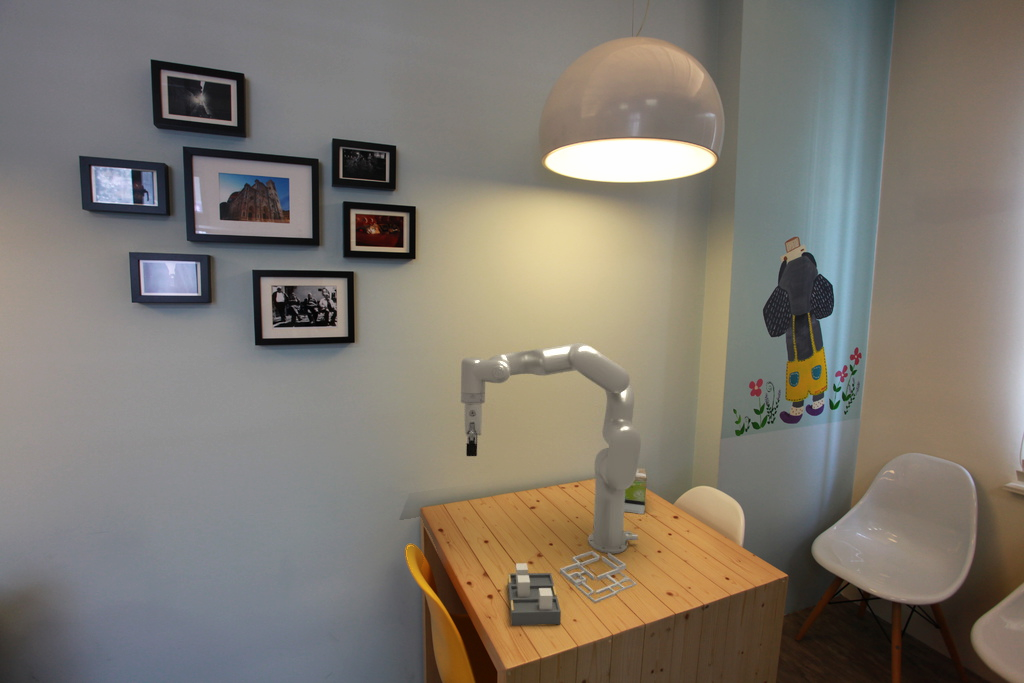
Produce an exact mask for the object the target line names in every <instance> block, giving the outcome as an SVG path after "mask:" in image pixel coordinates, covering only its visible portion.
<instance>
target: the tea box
mask: <svg viewBox="0 0 1024 683" xmlns="http://www.w3.org/2000/svg"><path fill="white" fill-rule="evenodd" d="M647 482H648V481H647V473H646V468H641V467H637V472H636V477H635V480H634V482H633V483H632V485H631V486H630V487H629V488H627V489H625V502H624V513H625V512H626V513H632V514H639V515H644V514H645V508H646V495H647V494H646V493H647Z"/></svg>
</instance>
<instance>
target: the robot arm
mask: <svg viewBox="0 0 1024 683" xmlns="http://www.w3.org/2000/svg"><path fill="white" fill-rule="evenodd" d="M460 367H461V370H460V371H461V376H460V377H461V378H460V385H461V386H460V403H462V404H463V405H464V431H465V432H464V433H465V436H467V442H466V449H465V450H466V452H465V454H466V457H477V456H478V436H480V437H481V435H482V421H483V420H482V419H483V418H482V416H483V415H482V413H483V411H482V410H483V408H482V407H483V406H482V404H484V403H486V383H493V384H502V383H505V382H506V381H508V380H509V378H510V377H511V376H517V375H535V376H543V377H544V376H550V375H557V374H561V373H567V372H568V373H569V372H574V371H576V372H578V373H579V374H581V375H582V376H583V377H585V378H587V379H588V380H589V381H591V382H592V383H594V384H596V385H597V386H598V387H600V388H602V389H603V390H604V391H605V395H606V407H605V408H606V409H605V414H604V419H603V420H604V421H603V426H602V431H601V432H602V434H601V435H602V438H603V440H604V441H605V443H606V444H607V445H608V447H605V448H602V449H601V450H599V451H598V453H597V454H596V455H595V459H594V478H595V479H594V481H595V482H594V483H595V487H594V504H593V505H594V508H593V529H592V530H593V532H591V534H589V536H588V537H587V542H588V545H589V546H590V547H591V548H592V549H594V550H596V551H598V552H601V553H603V554H608V552H609V553H610V554H611V555H613V554H619V553H622V552H624V551H626V550H627V548H628V542H629V541H638V540H639V538H638V534H637V533H632V531H631V530H626V531H625V530H624V521H625V520H624V519H625V515H624V514H625V511H624V502H625V489H627V488H629V487H630V486H631V485H632V483H633V482H634V480H635V477H636V472H637V468H638V466H639V461H640V460H639V459H640V453H641V445H642V440H641V436H640V433H639V431H638V430H637V428H635V426H633V416H634V415H633V414H634V408H635V396H634V395H635V394H634V388H633V386H632V383H631V382H630V381H631V380H630V375H629V373H628V371H627V370H626V369H625V368H624V367H622V366H621V365H620V364H618V363H616V362H615V361H613V360H611V359H610V358H608V357H607V356H606V355H604V354H603V353H601V352H600V351H599V350H597V349H595V348H594V347H593V346H591V345H589V344H587V343H584V342H583V343H582V342H574V343H568V344H563V345H557V346H551V347H544V348H538V349H537V348H536V349H530V350H524V351H523V350H522V351H516V352H507V353H503V354H502V353H501V354H497V355H494V356H491V357H490V358H489V359H487V360H486V359H484V358H482V357H465V358H463V359H462V361H461V366H460Z"/></svg>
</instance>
